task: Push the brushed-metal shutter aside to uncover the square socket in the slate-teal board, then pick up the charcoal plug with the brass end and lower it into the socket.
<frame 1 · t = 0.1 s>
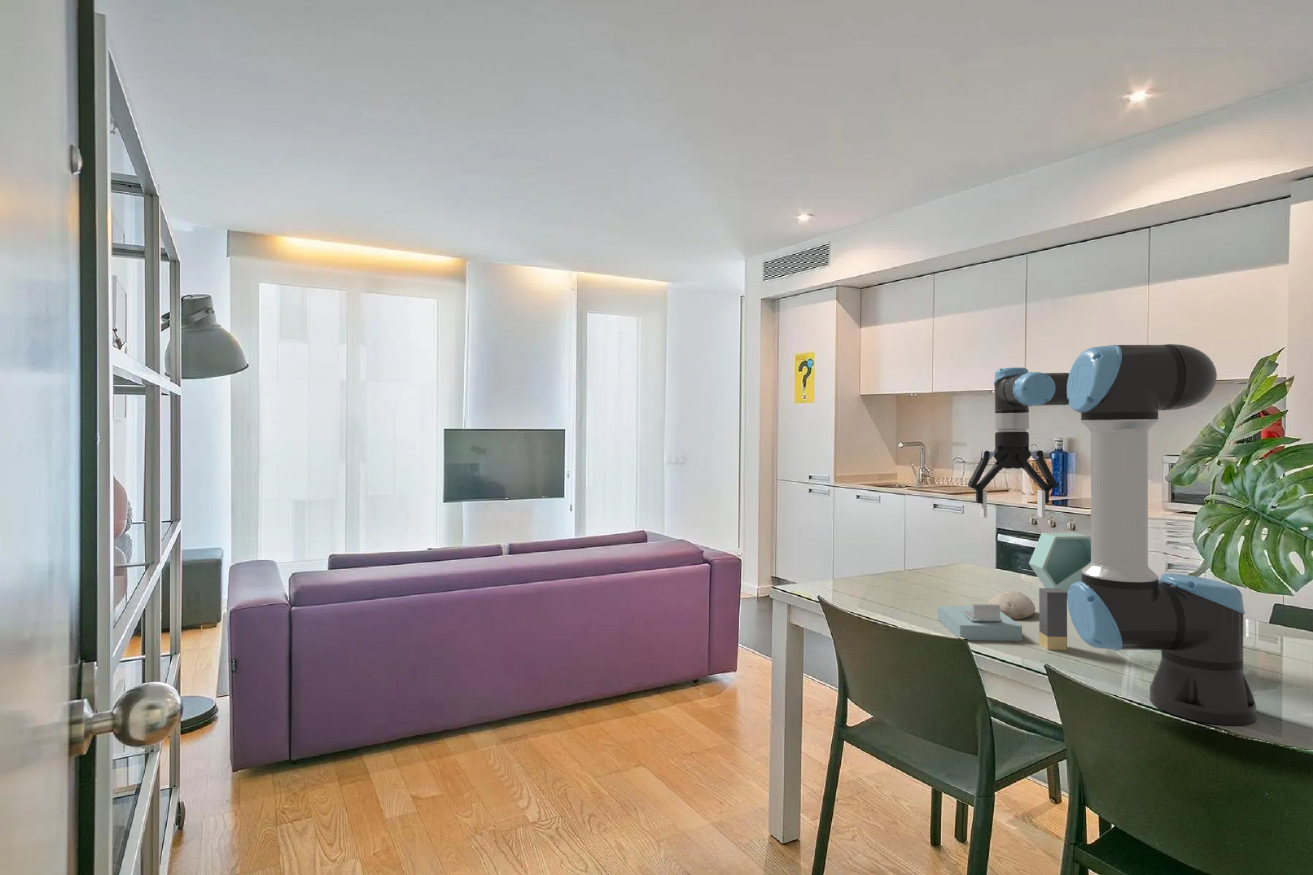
hand: (1012, 517, 178), 28 cm above the table, fingers open, 13 cm apart
stone: (1011, 615, 192), on the table
socket board: (977, 629, 178), on the table
plug: (1053, 647, 164), on the table
shutter: (981, 609, 175), point 6 cm above the table, slide at 0.0 cm
planter: (1067, 592, 216), on the table
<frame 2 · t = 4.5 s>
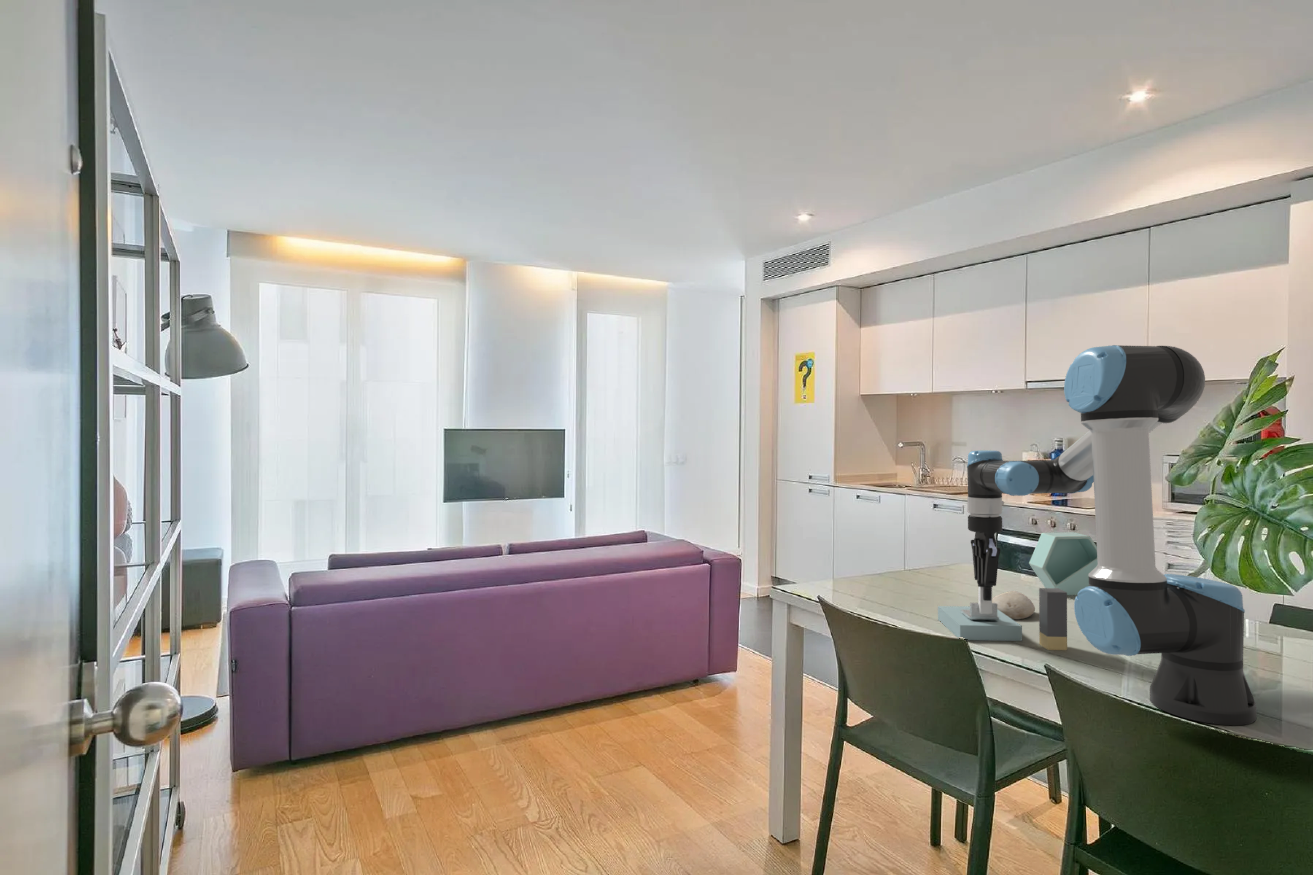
hand: (985, 612, 173), 6 cm above the table, fingers closed
shutter: (979, 607, 177), point 6 cm above the table, slide at 1.7 cm, touching gripper
everything else where it was.
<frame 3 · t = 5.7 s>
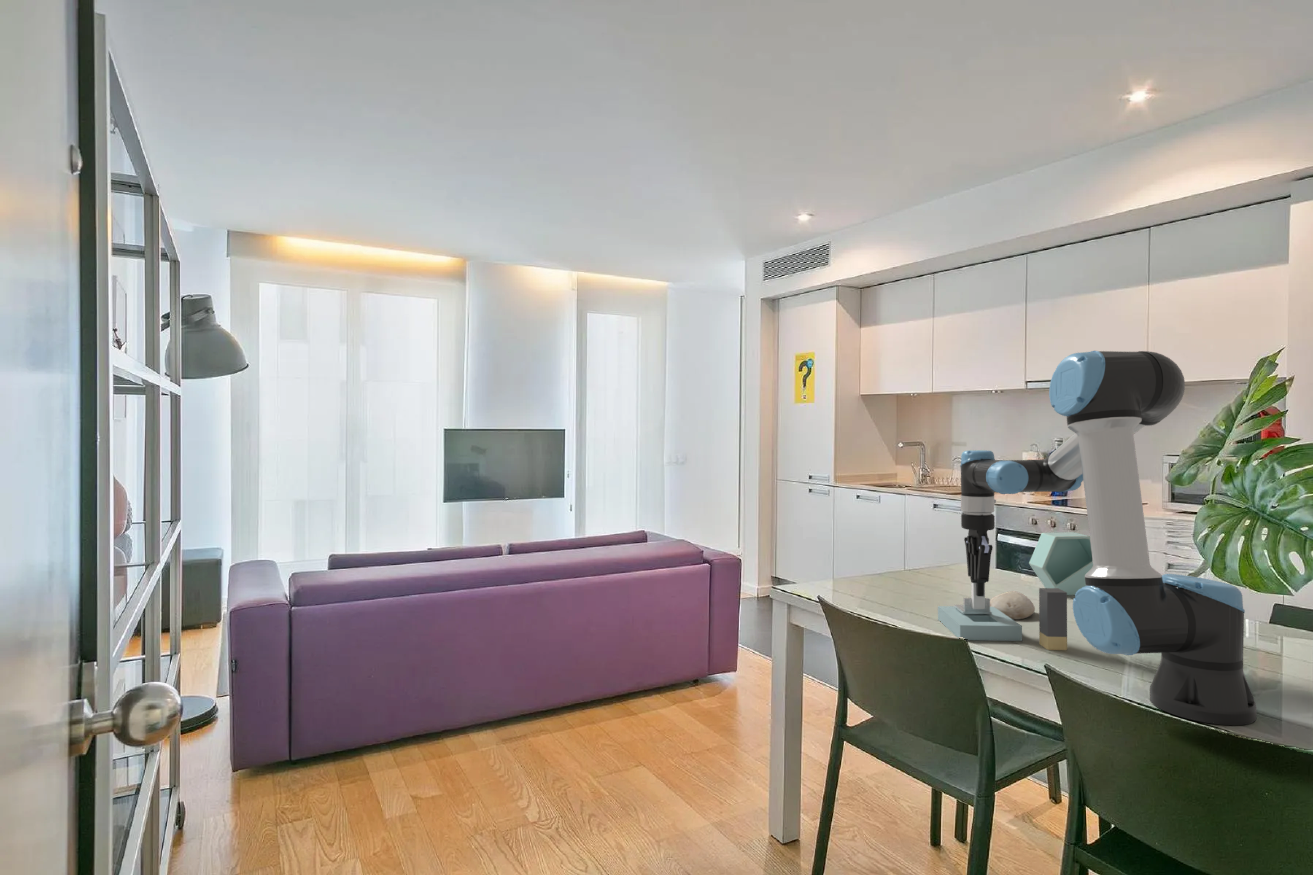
hand: (978, 608, 178), 5 cm above the table, fingers closed
shutter: (972, 603, 182), point 6 cm above the table, slide at 6.6 cm, touching gripper
everything else where it was.
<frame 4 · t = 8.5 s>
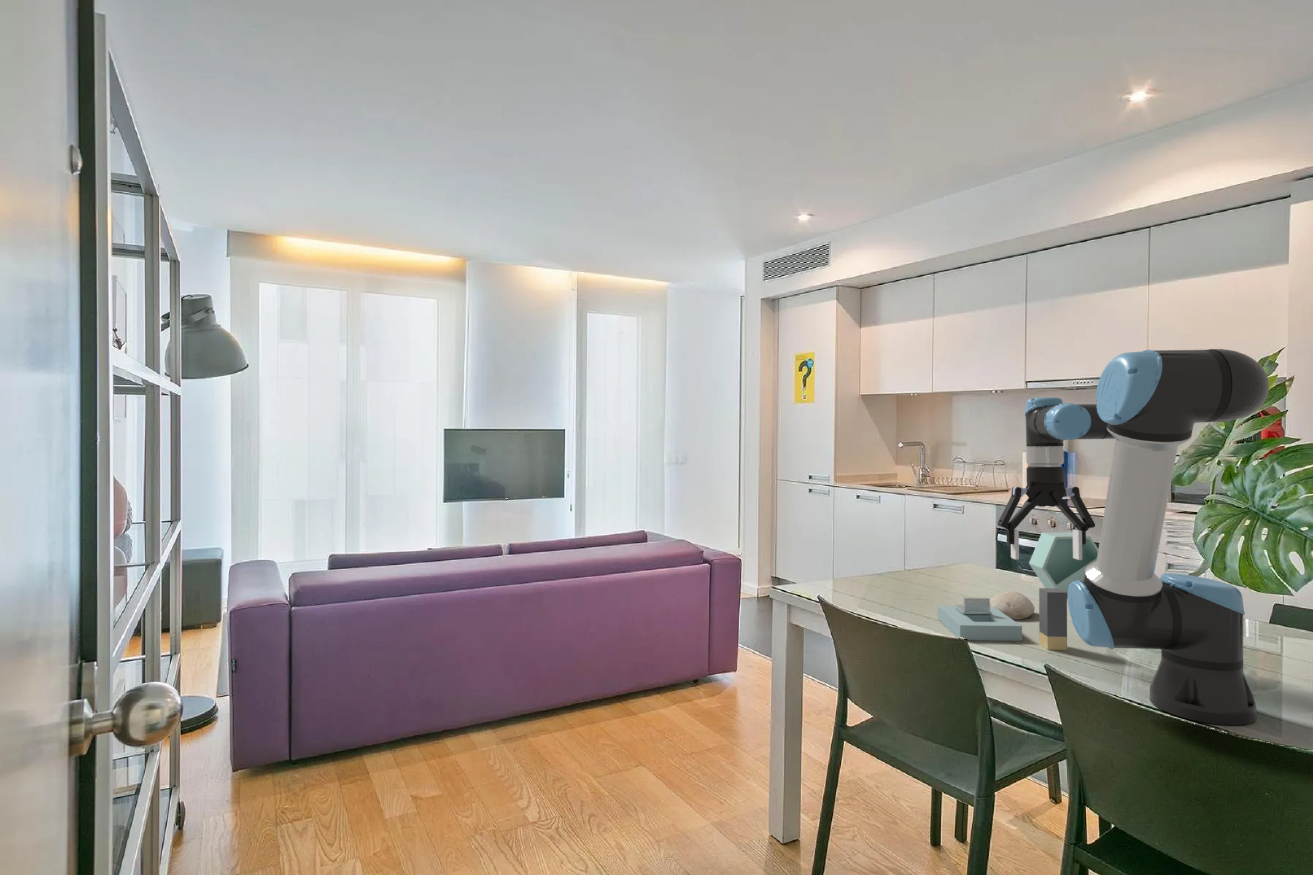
hand: (1046, 558, 164), 20 cm above the table, fingers open, 13 cm apart
shutter: (972, 603, 182), point 6 cm above the table, slide at 6.6 cm
everything else where it was.
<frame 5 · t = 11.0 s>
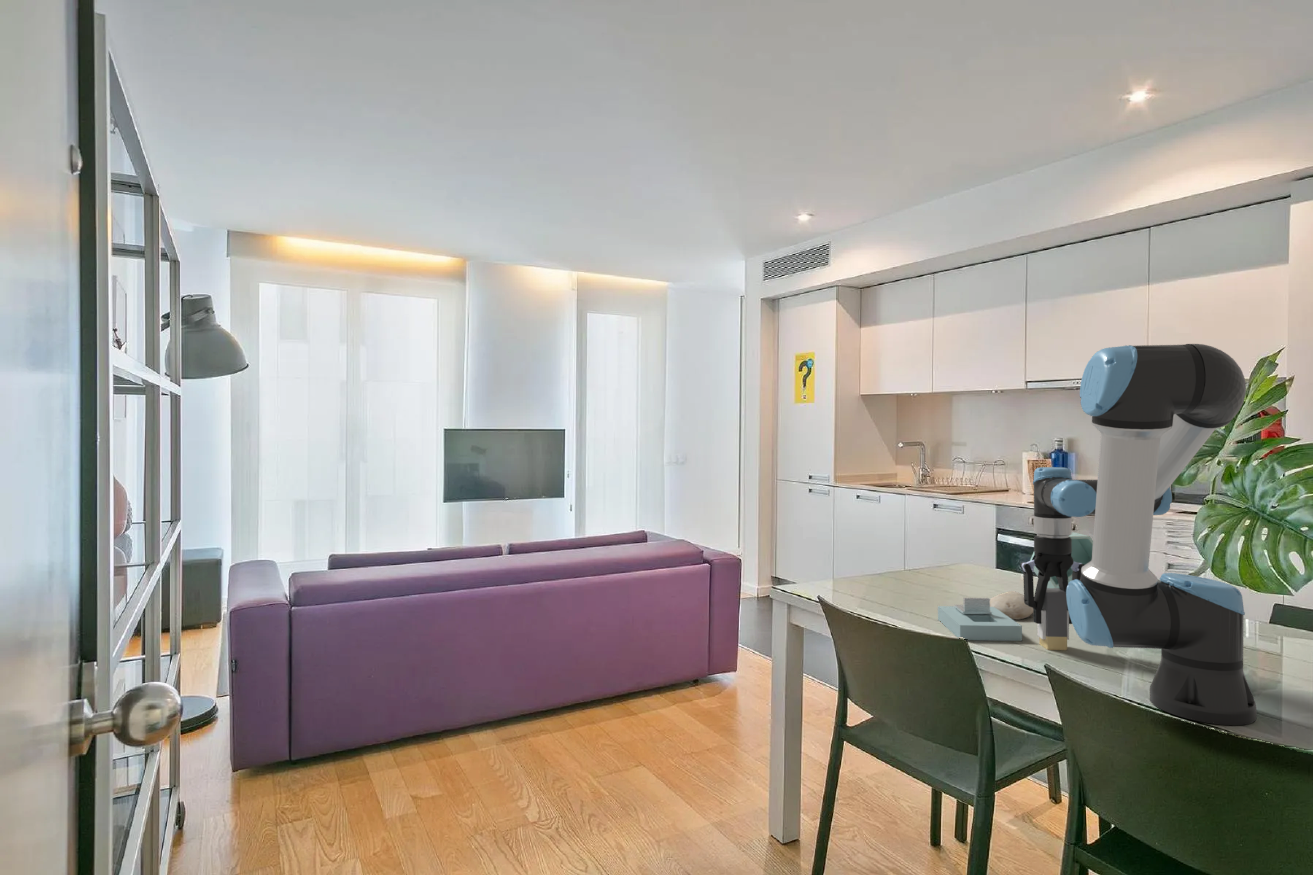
hand: (1053, 637, 164), 2 cm above the table, fingers closed on plug, 4 cm apart
plug: (1053, 647, 164), on the table, touching gripper
everything else where it was.
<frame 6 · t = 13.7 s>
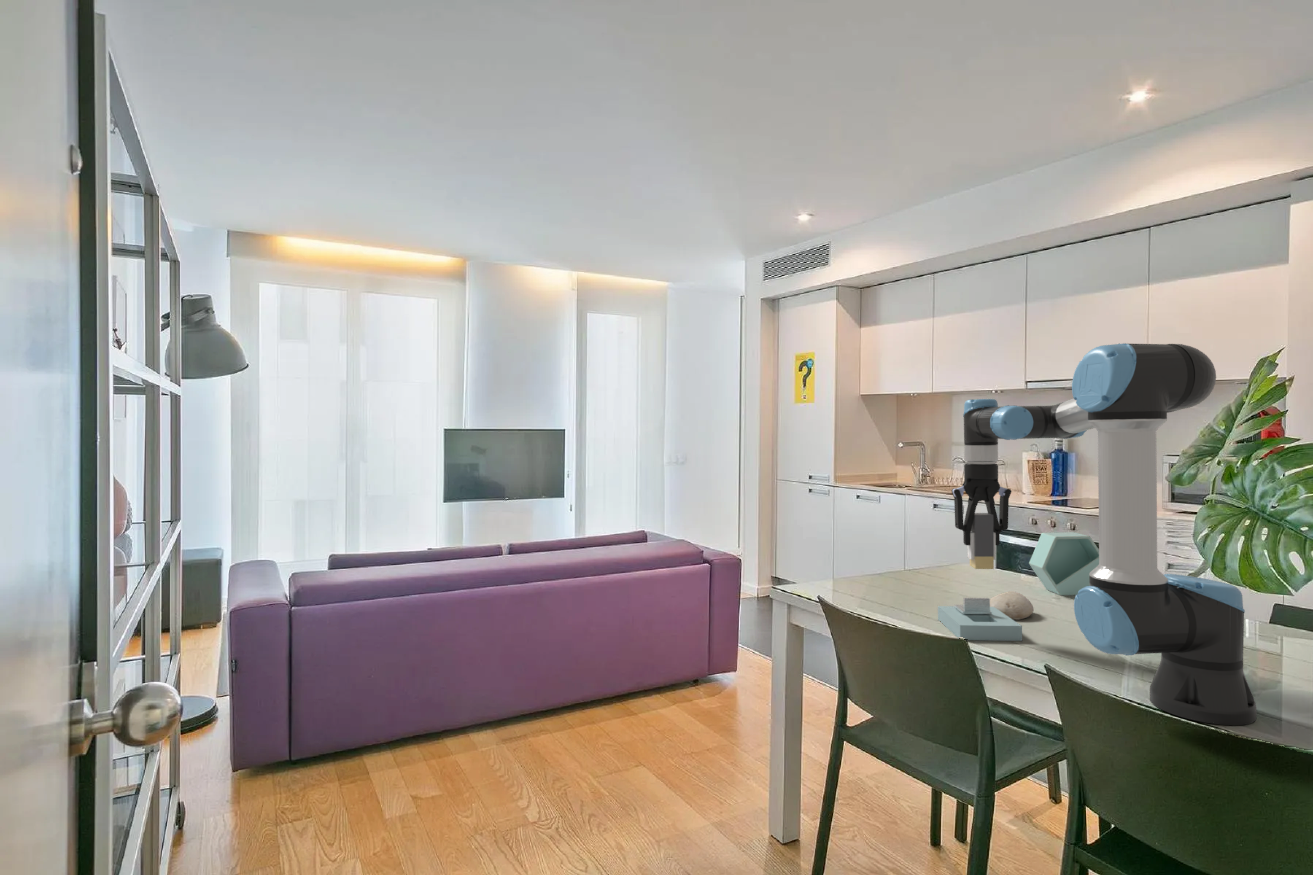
hand: (981, 558, 175), 18 cm above the table, fingers closed on plug, 4 cm apart
plug: (981, 567, 175), point 16 cm above the table, touching gripper
everything else where it was.
when the fingers open (4 cm above the table, at t = 16.3 s): plug drops 2 cm, resting in socket board.
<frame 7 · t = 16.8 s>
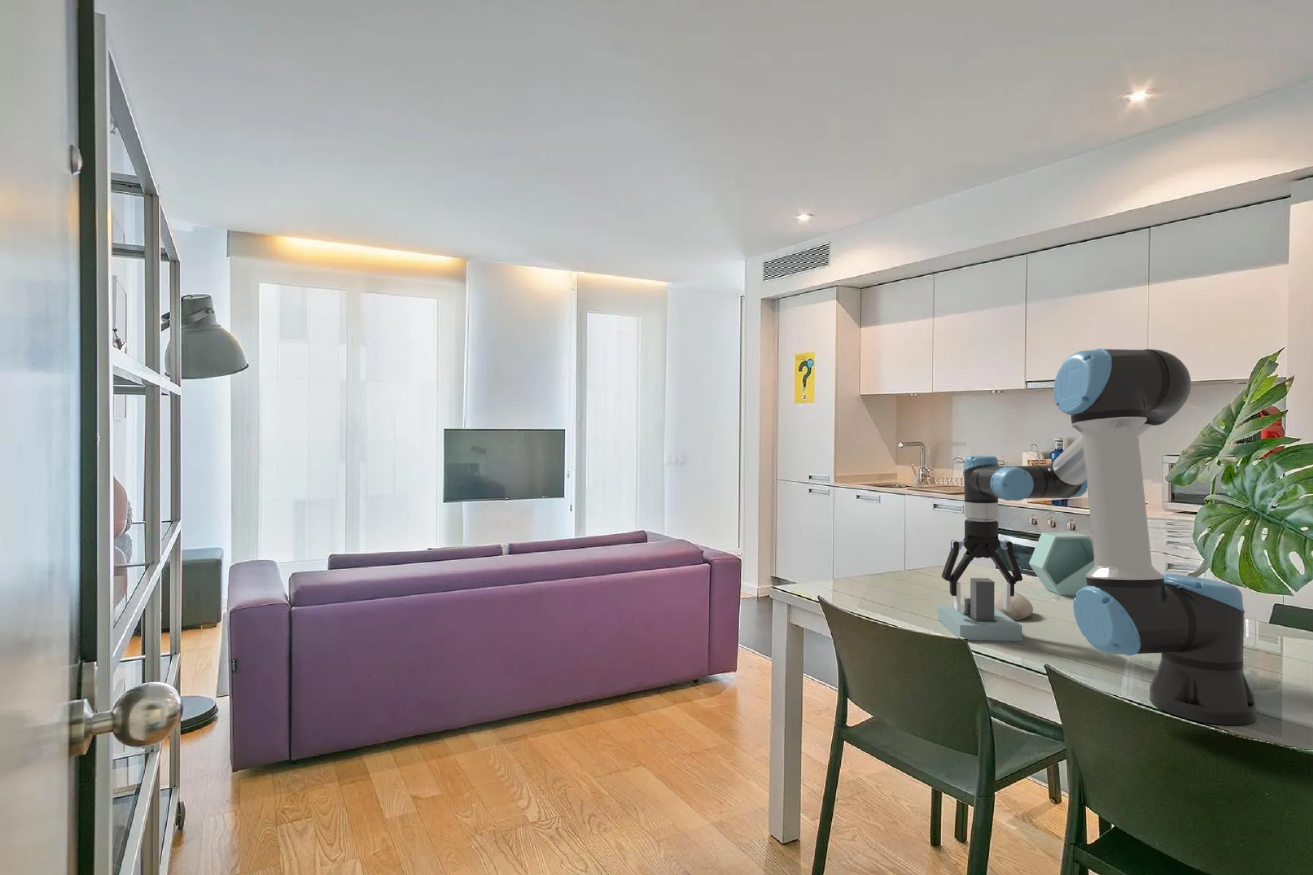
hand: (981, 609, 175), 6 cm above the table, fingers open, 11 cm apart
plug: (982, 632, 175), resting in socket board
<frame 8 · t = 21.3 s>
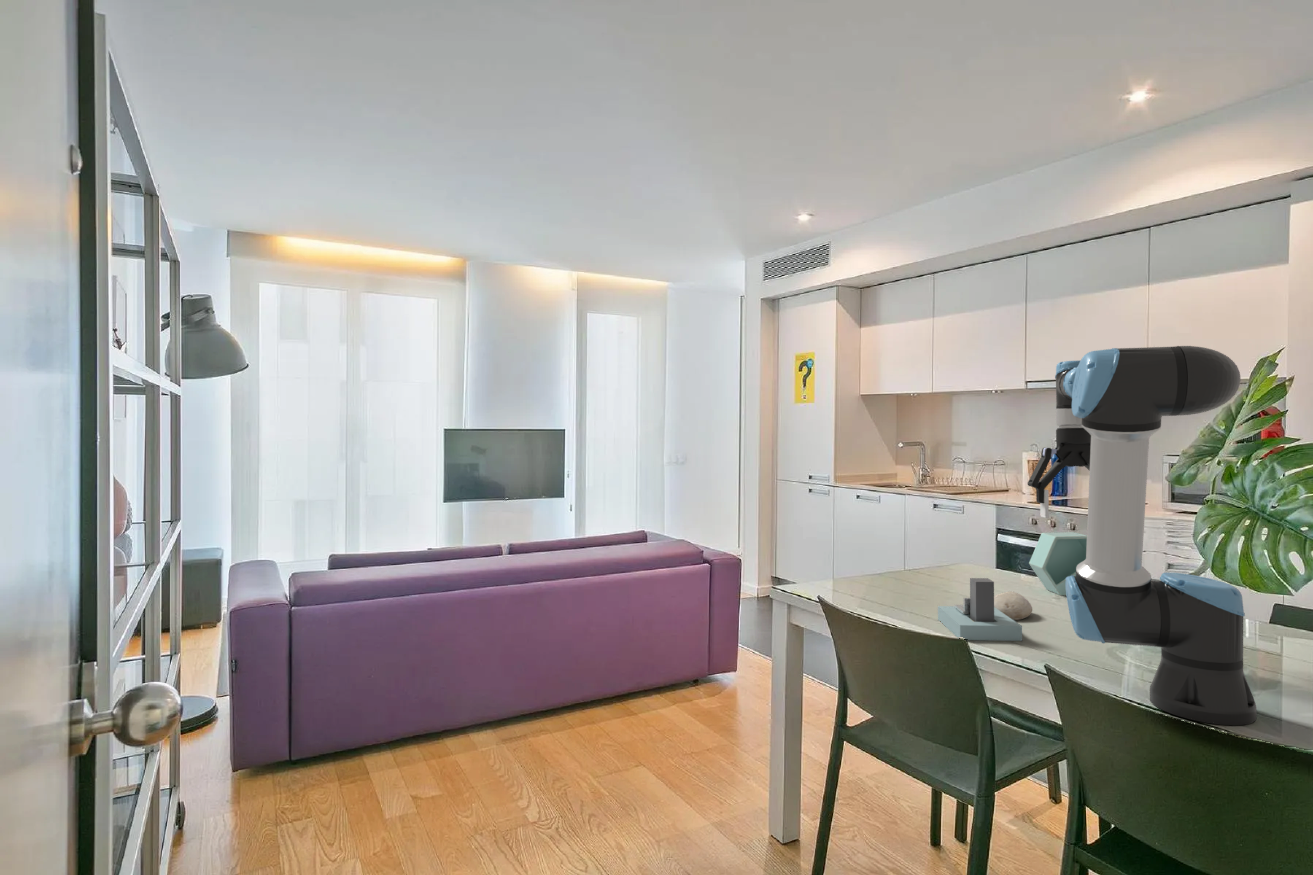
hand: (1074, 517, 169), 29 cm above the table, fingers open, 13 cm apart
at the end: shutter slide at 6.6 cm; plug 0.0 cm from the target spot on the socket board, point 0.0 cm above the socket board's base; plug tilted 0° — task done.
